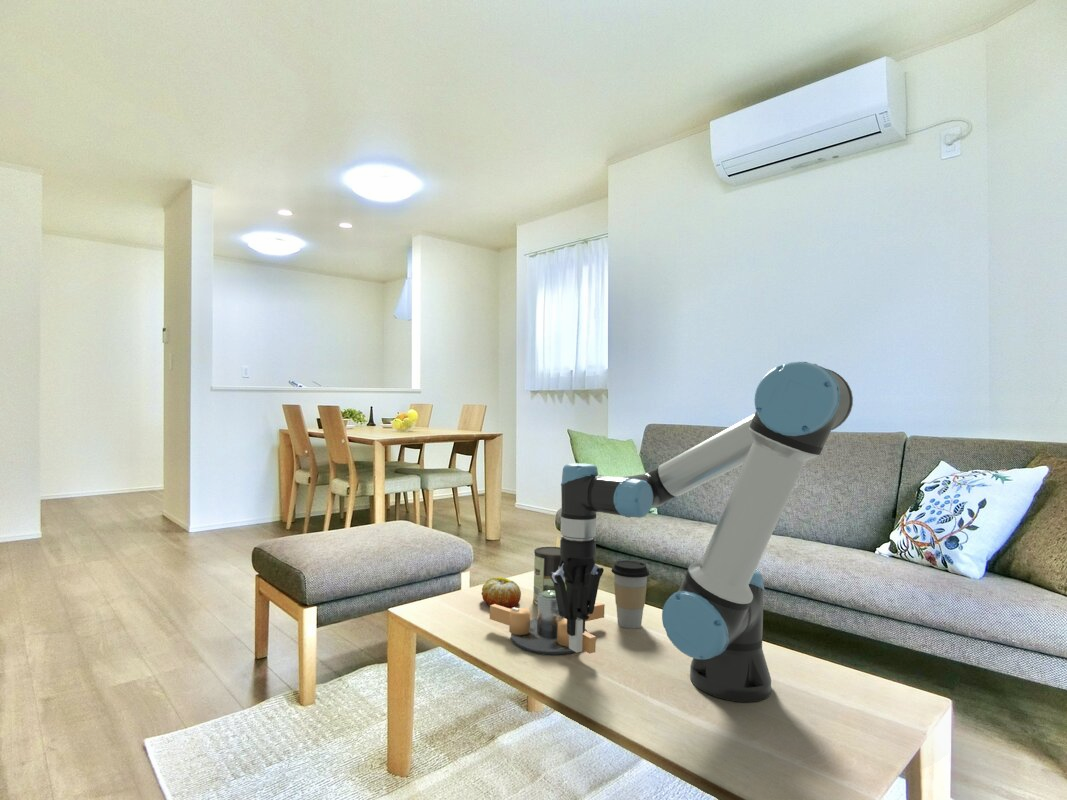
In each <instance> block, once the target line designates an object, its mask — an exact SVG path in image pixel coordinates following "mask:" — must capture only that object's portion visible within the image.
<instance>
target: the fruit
mask: <svg viewBox="0 0 1067 800" xmlns="http://www.w3.org/2000/svg"><path fill="white" fill-rule="evenodd" d="M481 597H482V600H483V602H484V603H485V604H486V605H488V606H489V607H490V605H493V604H496V605H500V606H503V607H506V608H509V609H512V608H513V607H515V608H517V606H519V603H520V601H521V597H522V590H521V588H520V586H519V585H518V584H517V582H515V581H513V580H510V579H508V578H506V577H502V576H501V577H500V576H497V577H493V578H490V579H489V580H487V581H486V582H485V583H483V586H482V589H481Z"/></svg>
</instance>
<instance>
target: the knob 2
mask: <svg viewBox="0 0 1067 800" xmlns="http://www.w3.org/2000/svg"><path fill="white" fill-rule="evenodd" d="M596 640H597V636H596V635H593V634H591V633H590V632H586V631H585V632H584V633H583V639H582V651H584V652H585V653H587V654H594V653H596V646H597V645H596V644H597V643H596V642H597V641H596ZM557 643H558V644H560V645H562V646H569V634H567V619H565V618H564V617H563V618H562V619H559V620H558V627H557Z"/></svg>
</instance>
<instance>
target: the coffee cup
mask: <svg viewBox="0 0 1067 800" xmlns="http://www.w3.org/2000/svg"><path fill="white" fill-rule="evenodd" d="M647 567H648V566H647V564H646V563H644V562H642V561H638V560H630V559H624V560H617V561H615V562H614V565H613V566H612V567H611V573H612V574H613V575H614V582H613V584H614V597H615V598H614V599H615V605H616V620H617V624H618V626H620V627H622V628H624V629H638V628H641V626H642V623H643V614H644V608H645V603H646V596H647V595H646V594H647V587H648V585H647V581H648V576H650V571H649V570H650V569H649V568H647Z"/></svg>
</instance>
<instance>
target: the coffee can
mask: <svg viewBox="0 0 1067 800" xmlns="http://www.w3.org/2000/svg"><path fill="white" fill-rule="evenodd" d="M560 562H561V554H560V546H542V547H541V546H540V547H537V548H535V549H534V564H533V565H534V566H533V568H534V569H533V573H534V574H533V598H532V601H533V603H534V604H536V605H537V606H538V594H539V593H541V592H543V591H547V590H553V591H555V589H554V583H553V581H552V579H551V578H550V573H551V572H554V573H555V572H556V571H557V570H558V569H559V568H560V567H559V565H560ZM563 576H564V575H563ZM564 578H565V576H564ZM563 581H564V583H565V579H564V580H563ZM565 587H566V584H565Z"/></svg>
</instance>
